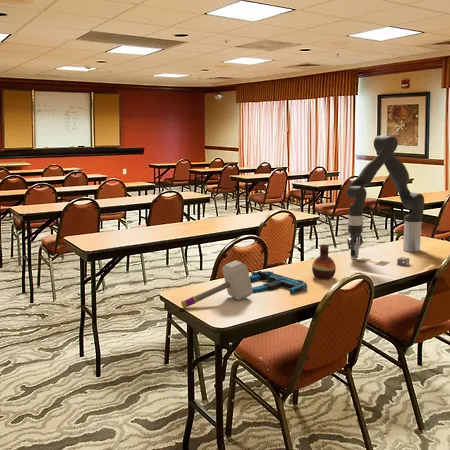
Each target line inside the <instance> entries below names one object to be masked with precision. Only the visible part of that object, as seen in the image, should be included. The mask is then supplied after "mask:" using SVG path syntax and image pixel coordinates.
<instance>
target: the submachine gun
mask: <svg viewBox="0 0 450 450" xmlns="http://www.w3.org/2000/svg"><path fill="white" fill-rule="evenodd" d="M250 274H251V275H249V277H250V281H251V283H252V282H257V281H259V280H262V281H265V280H266V281H265V282H267V283H263V284H260V285H257V286H252V289H253V293H252V294H254V293H259V292H263V291H270V290H274V289H277V288H279V287H284V288H285V289H289V293H290V294H291V295H293V294H297V293H300V292H306V291H307V290H308V284H307V282H306V281H304V280H301V279H294V278H291V277H287V276H284V275H280V274H277V273H274V271H270V270H268V271H267V270H264V271H261V270H258V271H253V270H252V271H250Z"/></svg>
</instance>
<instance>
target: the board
mask: <svg viewBox="0 0 450 450" xmlns="http://www.w3.org/2000/svg"><path fill="white" fill-rule="evenodd" d="M347 261H348V262H349V261H350V262H356V263H362V264H369V265H374V266H381V267H384V266H386V265H388V264H390V263H391V261H385V260H379V259H378V260H377V259H371V258H365V257H358V258H356V259H355V258H351V257H350V258H348V259H347Z"/></svg>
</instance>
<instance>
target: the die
mask: <svg viewBox="0 0 450 450" xmlns="http://www.w3.org/2000/svg"><path fill="white" fill-rule="evenodd" d="M396 260H397V261H396V263H397V264H396V265H398V266H403V267H404V266H405V267H407V266H408V265H410V257H409V258H408V257H402V256H400V257H399V258H397V259H396Z"/></svg>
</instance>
